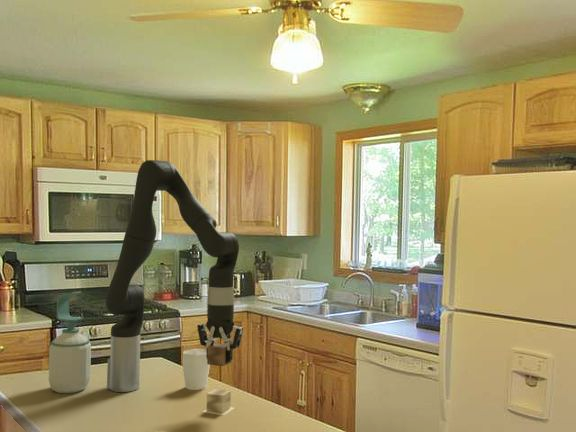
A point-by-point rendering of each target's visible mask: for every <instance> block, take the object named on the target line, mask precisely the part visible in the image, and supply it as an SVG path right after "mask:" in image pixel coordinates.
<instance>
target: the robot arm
mask: <svg viewBox="0 0 576 432" xmlns="http://www.w3.org/2000/svg"><path fill="white" fill-rule="evenodd" d="M137 171H138V172H137V175H136V176H137V177H136V181H135V187H134V195H133V201H132V206H131V210H130V215H129V219H128V223H127V227H126V229H125V233H124V237H123V240H122V246H121V250H120V253H119V257H118V260H117V263H116V267H115V270H114V273H113V275H112V278H111V280H110V283H109V286H108V289H107V292H106V296H105V307H106V310H107V312H108V313H109V314H110V315H114V316H119V315H123V316H122V317H121V319H120V320H119V321H118V322H115V323H114V324H113V325H112V326H111V328H110V356H109V357H110V358H109V357H108V358H107V369H106V370H107V371H106V376H107V377H106V389H107V390H109V391H111V392H115V393H127V392H128V393H129V392H133V391H136V390H138V389H140V370H141V369H140V368H141V367H140V366H141V365H140V364H141V330H142V327H143V322H144V314H145V313H144V312H145V294H144V290H143V288H142V287H141V286H140V285H138V284H135V283H133V284H131V282H132V279H133V277H134V275H135V274H136V272H137V271H138V270H139V269H140V268H141V267H142V265H143V264H144V263H145V262H146V261H147V259H148V258H149V256H150V255H151V253H152V251H153V248H154V243H155V240H156V237H157V226H156V225H157V224H156V222H155V217H154V214H153V213H154V212H153V204H154V200H155V195H156V194H157V193H156V192H157V191H158V192H162V191H163V192H164V191H165V192H166V193H168V194H169V195H170V196H171V197H173V199H174V200H175V201H176V203H177V206H178V210H179V213H180V217H181V218H182V220H183V221H184V222H185V224H186V225H187V226H188V227H189V228H190V230H191V231H192V232H193V233H194V234H195V236H196V237H197V240H198V241H199V243H200V245H201V247H202V249H203V250H204V252H205V253H206V254H207V255H209V256H211V257H212V258H217V259H216V263H215V264H214V265H212V266H211V267H210V268H209V270H208V271H209V272H208V289H207V303H206V304H207V305H206V306H207V307H206V308H207V310H206V311H207V312H206V313H207V314H206V318H207V321H206V323H200V324H198V325H197V332H198V337H199V342H200V346H204V347H205V348H206V350H207V355H208V346H211V345H213V344H215V342H216V340H217V339H222V343H224V344H225V346H226V349H227V350H226V363H229V364H230V362H231V363H232V361H233V354H234V350H235V349H237V348H239V347H240V345H241V342H242V341H241V340H242V336H243V332H244V328H243V327H242V326H237V325H235V323H234V315H235V314H234V309H235V303H234V302H235V293H234V292H235V291H234V272H235V271H234V270H235V267H236V265H237V260H238V257H239V250H240V249H239V248H240V244H239V240H238V238H237V236H236V235H235V234H234V233H232V232H219V231H218V230H217V229H216V228H217V220H216V219H215V218H214V216H213V215H212V214H211V213H210V212H209V211H208V210H207V209H206V208H205V207H204V206H203V205H202V203H201V202H200V201H199V200H198V199H197V198H196V196H195V194H194V193H193V192H192V191H191V189H190V187H189V186H188V184H187V183H186V181H185V180H184V178H183V176H182V175H181V173H180V172H179V170H178V168H177V167H176V166H175V165H174V164H173V163H171V162H169V161H167V160H157V159H156V160H153V159H148V160H145V161H144V162H142V164H141V165H140V167H139V169H138V170H137ZM207 331H208V332H209V333H208V334H207ZM232 333H233V334H234V337H232ZM207 355H206V357H207Z"/></svg>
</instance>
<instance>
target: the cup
mask: <svg viewBox="0 0 576 432" xmlns="http://www.w3.org/2000/svg"><path fill="white" fill-rule="evenodd" d="M206 355H207V348H206V349H205V348H192V349H191V348H190V349H186V350H184V351H182V361H181V363H182V370H183V371H182V372H183V377H184V378H183V379H184V386H185V389H187V390H189V391H200V390H205V389H207V386H208V379H209V373H210V368H211V365H208V364H207V357H206Z"/></svg>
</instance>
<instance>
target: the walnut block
mask: <svg viewBox="0 0 576 432" xmlns="http://www.w3.org/2000/svg"><path fill="white" fill-rule="evenodd" d="M226 350H227V349H226V346H225V343H224V344H223V343H214V344H213V345H211V346H208V355H207V364H208V365H210V366H217V367H225V366H226V365H228V364H230V363H232V361H231V362H230V363H226Z"/></svg>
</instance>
